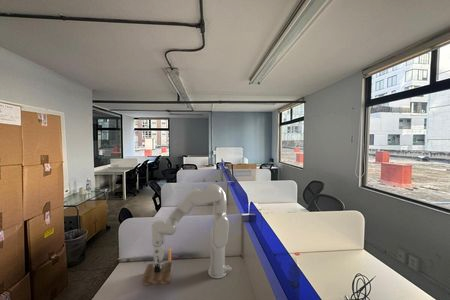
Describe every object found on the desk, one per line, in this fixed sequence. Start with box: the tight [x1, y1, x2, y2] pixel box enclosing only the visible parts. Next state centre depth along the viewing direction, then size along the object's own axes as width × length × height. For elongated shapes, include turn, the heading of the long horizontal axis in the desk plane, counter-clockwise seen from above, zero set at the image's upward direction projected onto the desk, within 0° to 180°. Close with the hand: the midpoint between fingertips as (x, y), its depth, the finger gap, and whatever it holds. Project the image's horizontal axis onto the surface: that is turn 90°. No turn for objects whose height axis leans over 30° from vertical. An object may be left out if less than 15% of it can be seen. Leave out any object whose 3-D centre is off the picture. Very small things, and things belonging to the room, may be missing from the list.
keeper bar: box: [167, 247, 172, 263], centre depth 135 cm, size 9×3×1 cm
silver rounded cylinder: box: [153, 261, 164, 271], centre depth 135 cm, size 6×6×9 cm
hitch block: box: [142, 257, 174, 287], centre depth 135 cm, size 16×12×11 cm
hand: (158, 267), depth 134 cm, fingers open, 9 cm apart
